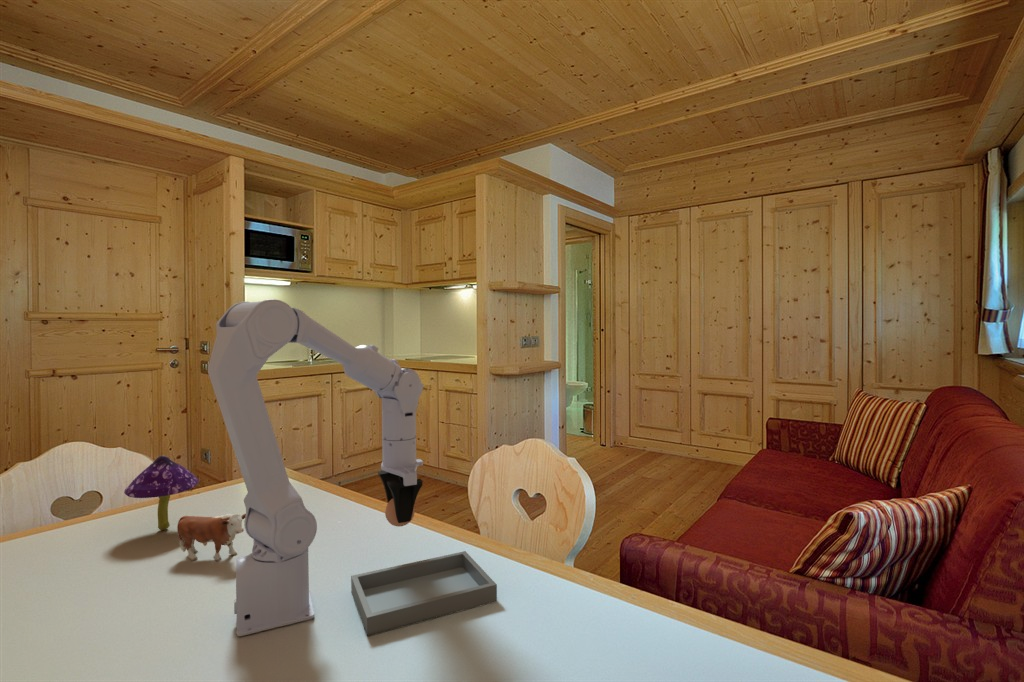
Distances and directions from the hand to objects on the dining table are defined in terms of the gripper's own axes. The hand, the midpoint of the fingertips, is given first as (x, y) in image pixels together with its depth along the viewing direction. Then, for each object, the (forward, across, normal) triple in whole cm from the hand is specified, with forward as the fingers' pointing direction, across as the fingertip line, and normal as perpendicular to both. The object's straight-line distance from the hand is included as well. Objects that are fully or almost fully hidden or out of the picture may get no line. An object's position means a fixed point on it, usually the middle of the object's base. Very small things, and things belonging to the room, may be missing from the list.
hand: (400, 516), depth 87 cm
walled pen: (+8, -13, 0) cm, 15 cm away
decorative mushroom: (+8, +36, +39) cm, 54 cm away
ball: (-1, 0, 0) cm, 1 cm away
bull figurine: (+8, +17, +29) cm, 35 cm away
